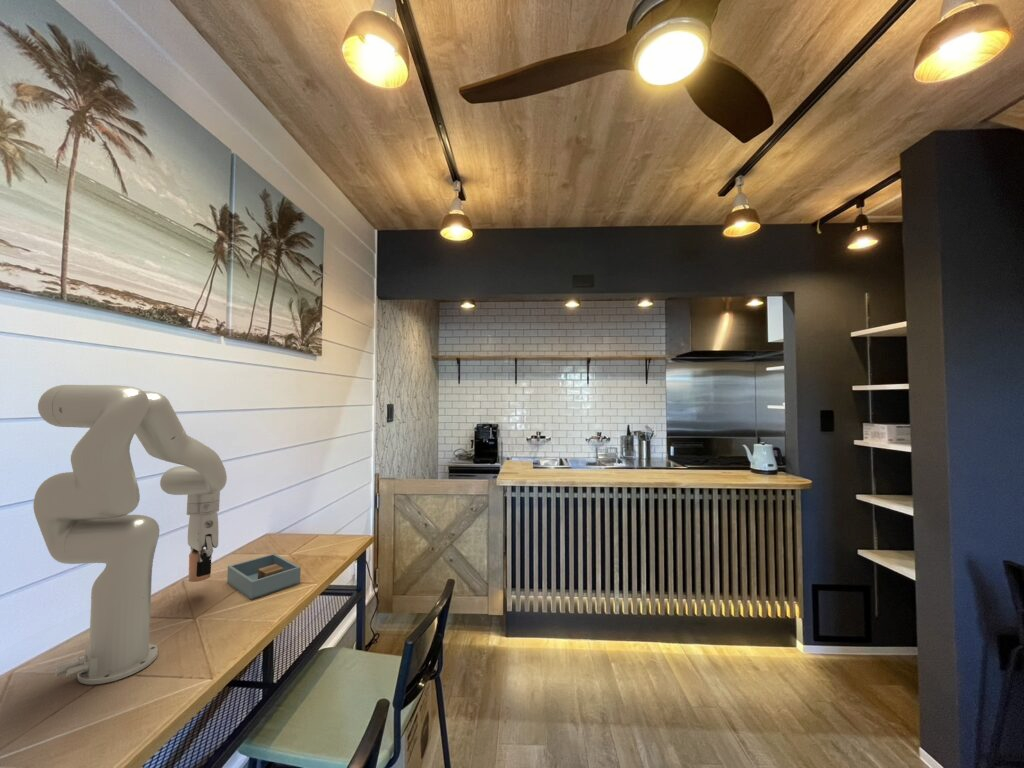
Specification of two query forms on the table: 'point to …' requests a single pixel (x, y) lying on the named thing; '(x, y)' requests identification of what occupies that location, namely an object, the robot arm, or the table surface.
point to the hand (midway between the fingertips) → (199, 572)
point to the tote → (253, 588)
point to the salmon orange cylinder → (195, 567)
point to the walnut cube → (269, 571)
